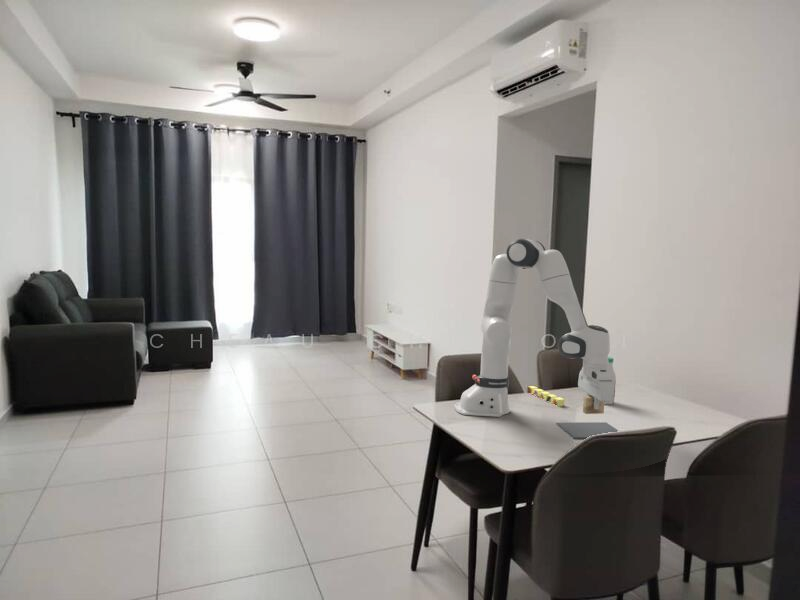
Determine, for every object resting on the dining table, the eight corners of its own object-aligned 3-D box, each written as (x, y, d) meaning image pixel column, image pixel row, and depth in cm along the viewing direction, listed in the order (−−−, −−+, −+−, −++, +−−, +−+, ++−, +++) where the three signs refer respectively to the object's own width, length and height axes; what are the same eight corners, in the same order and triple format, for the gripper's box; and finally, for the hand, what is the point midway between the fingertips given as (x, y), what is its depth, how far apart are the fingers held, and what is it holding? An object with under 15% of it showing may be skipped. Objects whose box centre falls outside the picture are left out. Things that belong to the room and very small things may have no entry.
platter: (550, 389, 263) (550, 382, 263) (596, 408, 233) (596, 400, 233) (492, 393, 252) (492, 386, 251) (532, 414, 222) (532, 406, 221)
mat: (574, 438, 193) (574, 437, 193) (556, 424, 209) (556, 422, 209) (627, 438, 195) (627, 436, 195) (606, 423, 211) (606, 422, 211)
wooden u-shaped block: (585, 413, 200) (586, 397, 199) (582, 412, 202) (583, 396, 201) (603, 413, 201) (604, 397, 200) (600, 411, 203) (601, 395, 202)
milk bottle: (612, 405, 236) (615, 360, 234) (593, 402, 240) (596, 357, 238) (615, 401, 243) (618, 357, 241) (597, 398, 247) (600, 355, 245)
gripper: (574, 364, 210) (573, 399, 211) (600, 376, 190) (598, 415, 191) (590, 364, 210) (588, 399, 212) (617, 376, 190) (615, 415, 192)
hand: (593, 407), depth 201 cm, fingers closed on wooden u-shaped block, 2 cm apart
